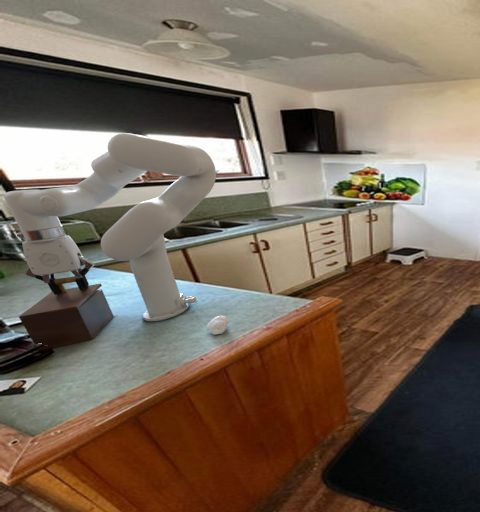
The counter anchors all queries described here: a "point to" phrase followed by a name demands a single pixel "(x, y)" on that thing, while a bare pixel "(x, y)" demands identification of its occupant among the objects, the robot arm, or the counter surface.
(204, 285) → the counter surface
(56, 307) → the lid
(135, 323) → the counter surface
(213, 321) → the dumpling
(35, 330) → the box
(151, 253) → the robot arm
